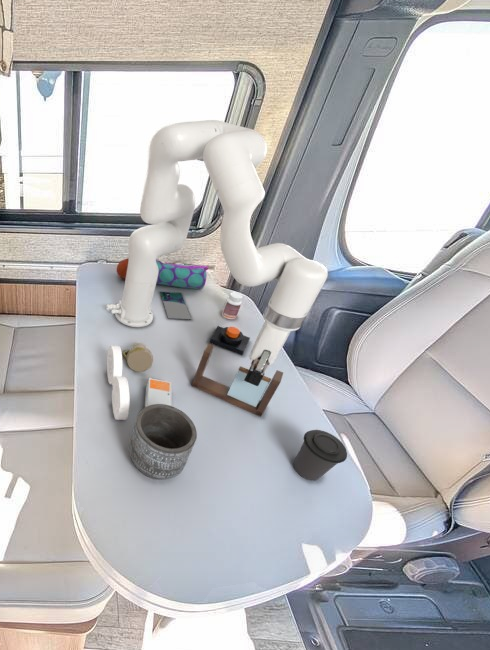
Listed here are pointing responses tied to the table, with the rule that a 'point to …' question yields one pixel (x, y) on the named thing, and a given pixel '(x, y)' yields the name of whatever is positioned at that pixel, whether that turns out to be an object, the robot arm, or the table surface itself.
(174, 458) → the planter
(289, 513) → the table surface
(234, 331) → the button
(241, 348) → the button housing
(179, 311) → the smartphone
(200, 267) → the pencil case
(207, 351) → the window frame
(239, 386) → the window pane
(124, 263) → the fruit
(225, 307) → the pill bottle
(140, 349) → the mug
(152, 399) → the cosmetic box
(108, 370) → the letter
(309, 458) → the coffee cup
